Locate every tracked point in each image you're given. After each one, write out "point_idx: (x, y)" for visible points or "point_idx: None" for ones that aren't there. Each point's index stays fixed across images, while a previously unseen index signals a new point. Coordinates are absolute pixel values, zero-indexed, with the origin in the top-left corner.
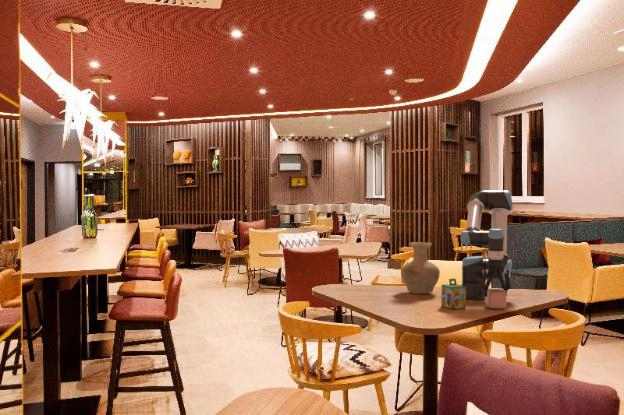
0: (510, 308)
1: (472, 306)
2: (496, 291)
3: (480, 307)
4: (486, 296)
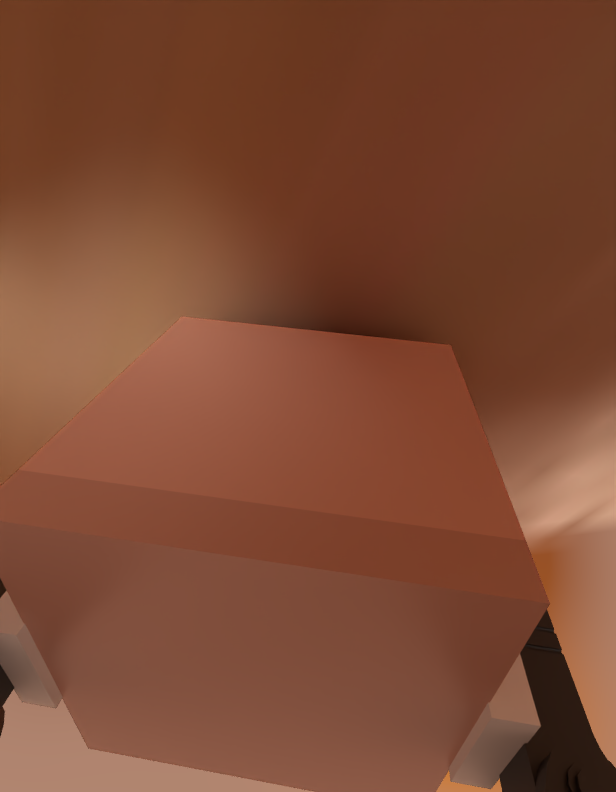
0: (508, 475)
1: (10, 250)
2: (221, 750)
3: (119, 340)
4: None
